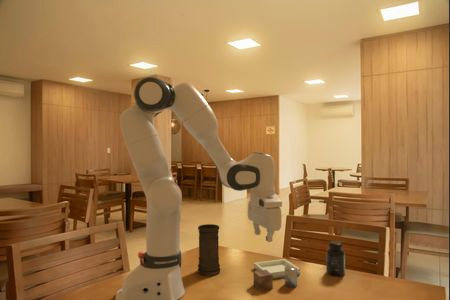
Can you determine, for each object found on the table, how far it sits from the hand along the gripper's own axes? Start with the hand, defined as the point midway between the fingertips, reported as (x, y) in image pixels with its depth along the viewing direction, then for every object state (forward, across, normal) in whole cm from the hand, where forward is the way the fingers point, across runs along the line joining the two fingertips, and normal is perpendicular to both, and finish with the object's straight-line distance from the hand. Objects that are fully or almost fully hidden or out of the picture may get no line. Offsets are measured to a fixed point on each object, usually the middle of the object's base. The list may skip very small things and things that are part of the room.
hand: (263, 237), depth 118 cm
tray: (+17, -11, +11) cm, 23 cm away
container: (+17, -20, -14) cm, 30 cm away
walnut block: (+17, 0, 0) cm, 17 cm away
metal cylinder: (+17, +2, +10) cm, 20 cm away
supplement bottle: (+18, -2, +32) cm, 36 cm away
